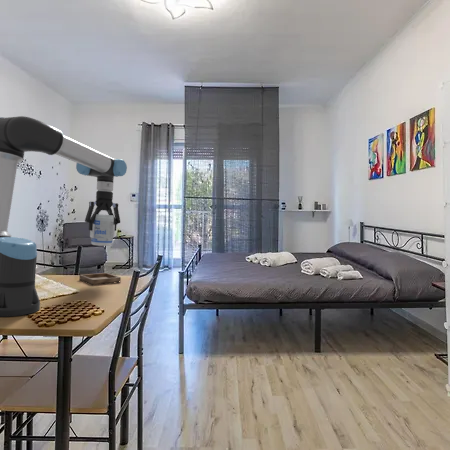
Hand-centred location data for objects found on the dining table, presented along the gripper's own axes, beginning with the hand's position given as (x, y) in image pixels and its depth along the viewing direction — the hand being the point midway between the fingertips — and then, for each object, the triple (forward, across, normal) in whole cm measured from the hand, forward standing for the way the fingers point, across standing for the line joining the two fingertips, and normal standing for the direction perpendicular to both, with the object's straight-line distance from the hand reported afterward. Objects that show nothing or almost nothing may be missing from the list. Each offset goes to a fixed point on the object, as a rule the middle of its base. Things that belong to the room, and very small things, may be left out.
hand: (102, 237), depth 168 cm
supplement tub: (+4, 0, 0) cm, 4 cm away
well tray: (+21, 0, 0) cm, 21 cm away
